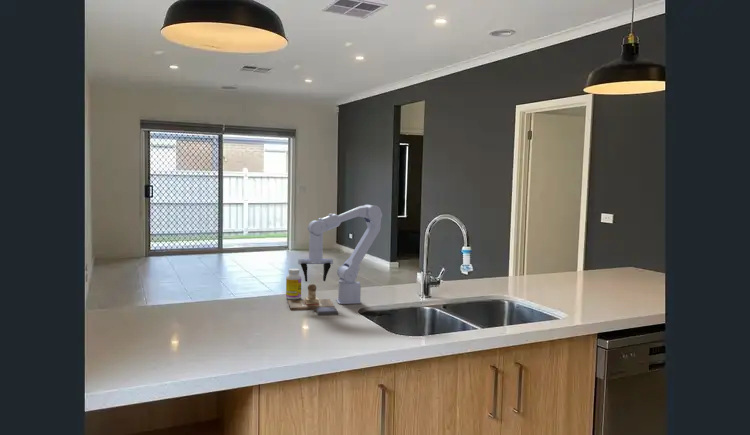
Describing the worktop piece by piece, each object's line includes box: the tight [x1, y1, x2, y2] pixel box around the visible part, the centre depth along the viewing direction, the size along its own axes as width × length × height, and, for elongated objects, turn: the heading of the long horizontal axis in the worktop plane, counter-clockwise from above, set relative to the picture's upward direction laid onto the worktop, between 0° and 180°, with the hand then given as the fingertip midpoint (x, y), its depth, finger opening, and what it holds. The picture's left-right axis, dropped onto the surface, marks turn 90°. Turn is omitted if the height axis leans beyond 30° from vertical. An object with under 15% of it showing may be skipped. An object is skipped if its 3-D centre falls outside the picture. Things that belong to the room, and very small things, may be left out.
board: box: [287, 298, 336, 311], centre depth 224 cm, size 18×13×1 cm
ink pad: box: [314, 306, 339, 316], centre depth 214 cm, size 8×8×1 cm
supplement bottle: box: [285, 268, 302, 300], centre depth 236 cm, size 7×7×13 cm
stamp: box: [304, 283, 319, 305], centre depth 222 cm, size 5×5×8 cm
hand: (315, 281), depth 226 cm, fingers open, 7 cm apart
